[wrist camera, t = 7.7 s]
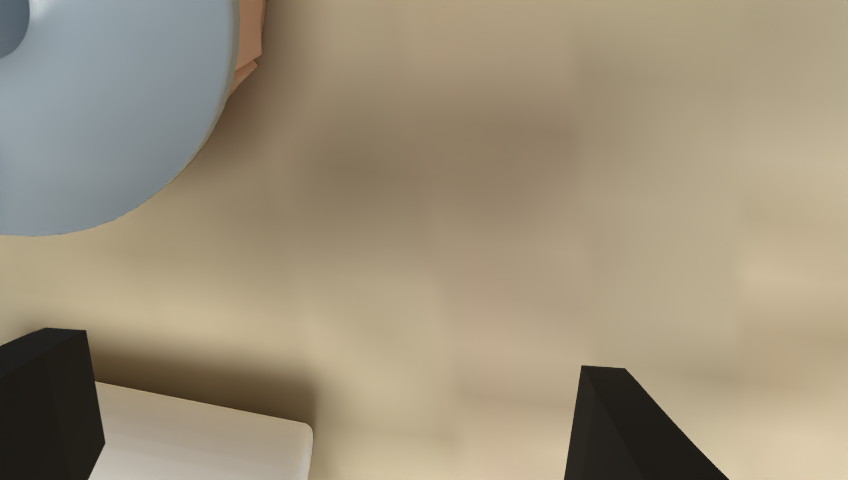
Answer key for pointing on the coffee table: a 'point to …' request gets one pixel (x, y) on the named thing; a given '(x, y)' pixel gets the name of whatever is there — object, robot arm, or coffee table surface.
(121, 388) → the mug
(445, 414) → the coffee table surface
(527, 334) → the coffee table surface
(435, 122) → the coffee table surface
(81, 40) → the lid
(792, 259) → the coffee table surface
